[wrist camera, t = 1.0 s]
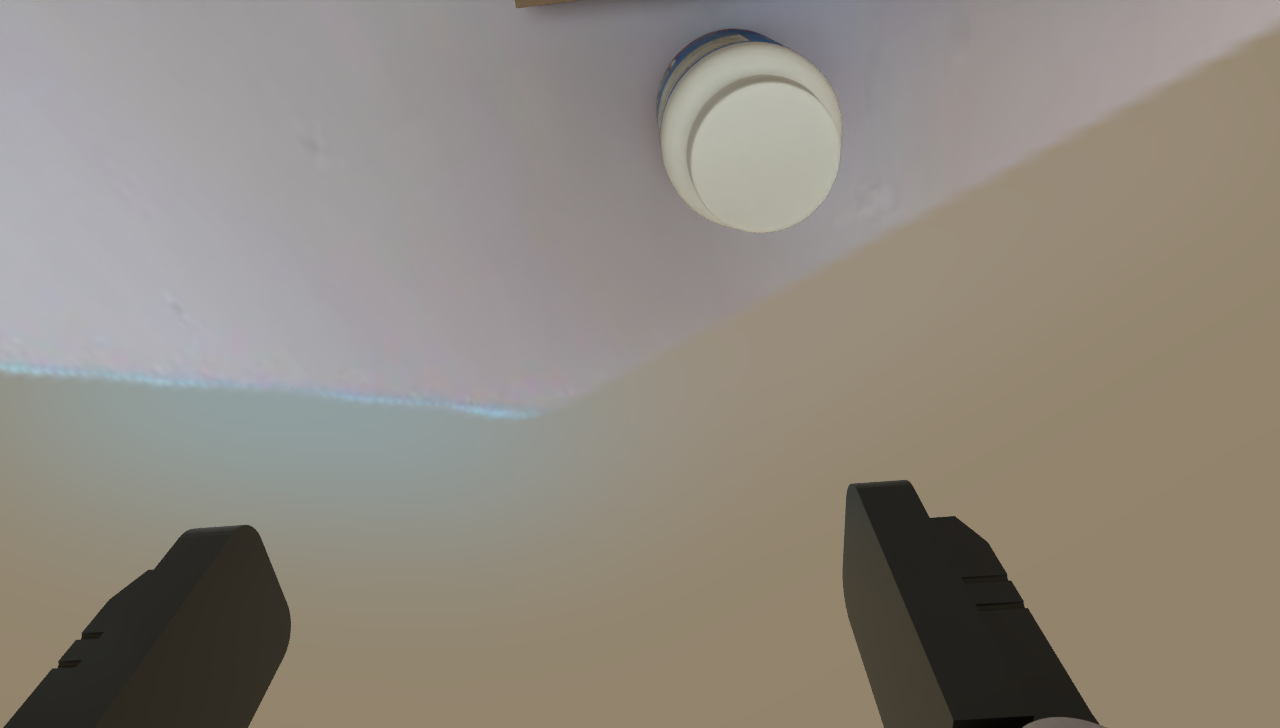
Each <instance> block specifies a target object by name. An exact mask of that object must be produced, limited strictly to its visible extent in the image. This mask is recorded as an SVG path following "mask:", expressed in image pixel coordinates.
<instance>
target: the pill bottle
mask: <svg viewBox="0 0 1280 728" xmlns="http://www.w3.org/2000/svg"><path fill="white" fill-rule="evenodd" d="M657 121H658V128H659V135H660V144H661V152H662V157H663V162H664V166H665V169H666V172H667V175H668V177H669V180H670V181H671V183H672V185H673V187H674V189H675V190H676V192H677V193H678V194H679V196H680V197H681V198H682V200H683V201H684V202H685V203H686V204H687V205H688V206H689V207H690V208H691V209H692V210H694V211H695V212H696V213H698V214H699V215H701V216H702V217H704V218H706V219H708V220H710V221H712V222H714V223H717V224H720V225H723V226H727V227H731V228H735V229H738V230H742V231H746V232H754V233H767V232H774V231H778V230H782V229H785V228H788V227H790V226H792V225H795V224H796V223H798V222H800V221H802V220H803V219H804V218H806V217H808V216H809V215H810V214H811V213H812V212H813V211H814V210H816V208H817V207H818V206H819V205H820V204H821V203H822V202H823V200H824V199H825V198H826V196H827V194H828V193H829V191H830V189H831V187H832V185H833V183H834V181H835V179H836V176H837V172H838V168H839V162H840V148H841V139H842V119H841V113H840V109H839V104H838V101H837V99H836V96H835V94H834V92H833V89H832V88H831V86H830V84H829V83H828V81H827V79H826V78H825V77H824V75H823V74H822V73H821V72H820V71H819V70H818V69H817V68H816V67H815V66H814V65H813V64H812V63H811V62H810V61H808V60H807V59H806V58H804V57H803V56H801V55H799V54H798V53H796V52H795V51H793V50H791V49H788V48H786V47H784V46H782V45H781V44H779V43H777V42H775V41H773V40H771V39H769V38H767V37H765V36H763V35H761V34H758V33H755V32H752V31H747V30H739V29H728V30H721V31H716V32H712V33H709V34H707V35H704V36H702V37H700V38H698V39H696V40H695V41H693V42H692V43H690V44H689V45H687V46H686V47H685V48H684V49H683V50H682V51H681V52H680V53H679V54H678V55H677V56H676V57H675V58H674V59H673V61H672V62H671V63H670V65H669V66H668V68H667V70H666V72H665V75H664V77H663V80H662V82H661V85H660V88H659V92H658V97H657Z"/></svg>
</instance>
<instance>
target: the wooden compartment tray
mask: <svg viewBox="0 0 1280 728" xmlns="http://www.w3.org/2000/svg"><path fill="white" fill-rule="evenodd" d="M570 1H578V0H515V3H516V8H523V7H531V6H539V5H547V4H555V3H562V2H570Z"/></svg>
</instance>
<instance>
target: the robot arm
mask: <svg viewBox="0 0 1280 728" xmlns="http://www.w3.org/2000/svg"><path fill="white" fill-rule="evenodd" d="M845 514H846V515H845V535H844V554H843V588H844V597H845V603H846V608H847V613H848V617H849V621H850V623H851V627H852V630H853V633H854V636H855V639H856V642H857V645H858V648H859V651H860V654H861V658H862V661H863V664H864V667H865V670H866V673H867V676H868V679H869V682H870V685H871V688H872V692H873V695H874V697H875V701H876V704H877V707H878V710H879V713H880V716H881V719H882V722H883V725H884V728H1106V727H1104V726H1100V725H1099V723H1098V722H1097V720H1096V719H1095V717H1094V716H1093V715H1092V713H1091V711H1090V710H1089V708H1088V706H1087V705H1086V703H1085V702H1084V700H1083V698H1082V697H1081V695H1080V693H1079V692H1078V691H1077V688H1076V687H1075V685H1074V683H1073V682H1072V680H1071V679H1070V677H1069V675H1068V674H1067V672H1066V670H1065V669H1064V667H1063V665H1062V664H1061V662H1060V661H1059V659H1058V658H1057V655H1056V654H1055V652H1054V651H1053V649H1052V647H1051V646H1050V644H1049V642H1048V641H1047V639H1046V637H1045V636H1044V634H1043V632H1042V631H1041V629H1040V628H1039V626H1038V624H1037V623H1036V621H1035V620H1034V618H1033V616H1032V614H1031V613H1030V611H1029V609H1028V608H1025V607H1024V604H1023V602H1024V601H1023V599H1022V598H1021V596H1020V595H1019V593H1018V591H1017V590H1016V588H1015V586H1014V585H1013V583H1012V581H1008V579H1007V573H1006V572H1005V570H1004V569H1003V567H1002V565H1001V563H1000V562H999V560H998V558H997V557H996V555H995V553H994V552H993V551H992V548H991V547H990V545H989V544H988V542H987V541H985V540H984V539H983V538H982V537H980V536H979V535H978V534H977V533H975V532H974V531H973V530H972V529H970V528H969V527H968V526H966V525H965V524H964V523H963V522H961V521H960V520H959V519H957V518H956V517H955V516H951V517H937V518H929V516H928V514H927V512H926V510H925V508H924V506H923V504H922V502H921V501H920V499H919V497H918V495H917V493H916V491H915V489H914V488H913V486H912V484H911V483H910V482H909V481H907V480H899V481H884V482H870V483H856V484H850V485H849V487H848V490H847V496H846V513H845ZM290 630H291V620H290V612H289V608H288V605H287V602H286V600H285V597H284V595H283V592H282V590H281V587H280V585H279V582H278V580H277V577H276V575H275V572H274V570H273V567H272V565H271V562H270V560H269V557H268V555H267V552H266V550H265V547H264V545H263V542H262V540H261V537H260V535H259V533H258V532H257V531H256V530H255V529H254V528H253V527H251V526H249V525H238V526H224V527H210V528H198V529H197V528H196V529H190V530H188V531H186V532H185V533H184V534H182V535H181V537H180V538H179V539H178V540H177V541H176V543H175V544H174V545H173V546H172V548H171V549H170V550H169V551H168V553H167V554H166V555H165V556H164V558H163V559H162V560H161V561H160V563H159V564H158V565H157V566H156V568H155V569H154V570H148V571H146V572H145V573H144V574H142V575H141V576H140V577H138V578H137V579H136V580H135V581H133V582H132V583H131V584H129V585H128V586H127V587H125V588H124V589H123V590H121V591H120V592H119V593H118V594H116V595H115V596H114V597H112V598H111V599H110V600H109V601H108V602H107V603H106V604H105V606H104V607H103V608H102V609H101V610H100V612H99V613H98V614H97V615H96V617H95V618H94V619H93V620H92V621H91V623H90V624H89V625H88V626H87V627H86V629H85V630H84V631H83V632H82V638H81V640H76V641H75V642H74V643H73V644H72V646H71V647H70V648H69V649H68V650H67V652H66V653H65V654H64V655H63V656H62V658H61V659H60V660H59V661H58V662H59V666H58V668H57V669H52V670H51V671H50V672H49V673H48V675H47V676H46V677H45V678H44V679H43V681H42V682H41V683H40V684H39V685H38V686H37V688H36V689H35V690H34V691H33V693H32V694H31V695H30V696H29V697H28V699H27V700H26V701H25V702H24V703H23V705H22V706H21V707H20V708H19V709H18V711H17V712H16V713H15V714H14V716H13V717H12V718H11V719H10V721H9V722H8V723H7V724H6V725H5V726H4V728H248V726H249V724H250V722H251V721H252V718H253V716H254V715H255V713H256V711H257V709H258V707H259V705H260V703H261V701H262V699H263V697H264V695H265V693H266V691H267V689H268V687H269V685H270V683H271V681H272V679H273V677H274V675H275V673H276V671H277V669H278V667H279V665H280V663H281V661H282V659H283V657H284V655H285V653H286V650H287V647H288V643H289V639H290Z"/></svg>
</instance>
